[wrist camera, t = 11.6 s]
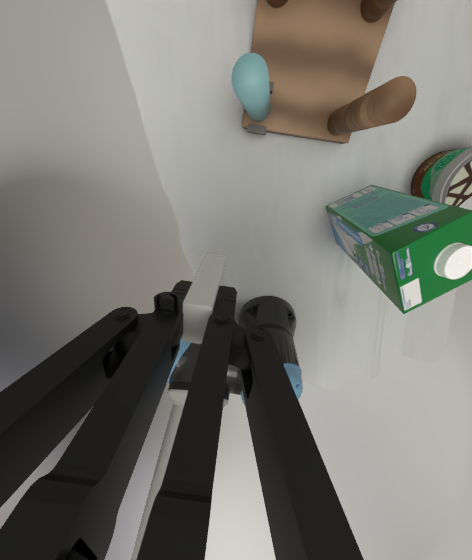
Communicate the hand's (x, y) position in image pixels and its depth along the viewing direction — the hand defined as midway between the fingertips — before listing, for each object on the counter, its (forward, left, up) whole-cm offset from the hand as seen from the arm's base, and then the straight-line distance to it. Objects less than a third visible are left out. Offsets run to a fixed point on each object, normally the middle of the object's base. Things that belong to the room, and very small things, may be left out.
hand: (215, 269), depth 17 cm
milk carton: (0, -24, -33) cm, 40 cm away
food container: (+10, -34, -33) cm, 48 cm away
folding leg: (+14, -1, -27) cm, 31 cm away
